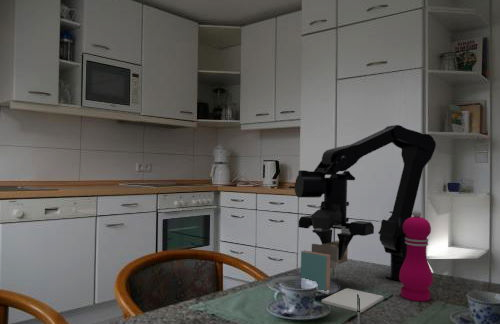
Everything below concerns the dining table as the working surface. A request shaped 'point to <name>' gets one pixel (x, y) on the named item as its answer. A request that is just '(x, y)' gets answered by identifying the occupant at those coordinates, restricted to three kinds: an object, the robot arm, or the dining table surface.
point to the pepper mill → (416, 260)
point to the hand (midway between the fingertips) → (334, 258)
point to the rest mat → (352, 299)
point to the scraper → (330, 252)
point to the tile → (316, 268)
